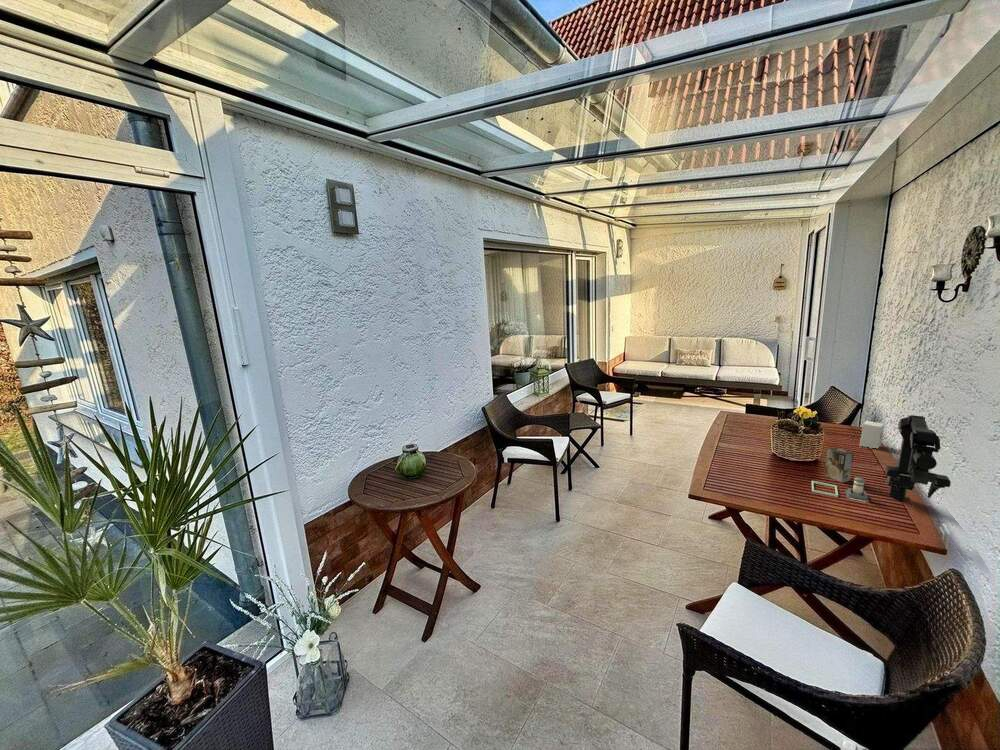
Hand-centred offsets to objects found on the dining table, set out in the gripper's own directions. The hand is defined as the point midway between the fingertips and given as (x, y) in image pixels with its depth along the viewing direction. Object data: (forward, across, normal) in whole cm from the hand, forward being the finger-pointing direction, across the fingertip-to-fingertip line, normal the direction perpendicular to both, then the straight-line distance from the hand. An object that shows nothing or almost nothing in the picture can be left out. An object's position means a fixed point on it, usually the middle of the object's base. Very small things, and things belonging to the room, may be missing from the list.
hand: (913, 494), depth 174 cm
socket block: (+14, -16, +18) cm, 28 cm away
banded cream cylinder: (+14, -16, +18) cm, 27 cm away
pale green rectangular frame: (+14, -28, +17) cm, 36 cm away
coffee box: (+15, -23, +37) cm, 46 cm away
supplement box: (+15, -5, +102) cm, 104 cm away
